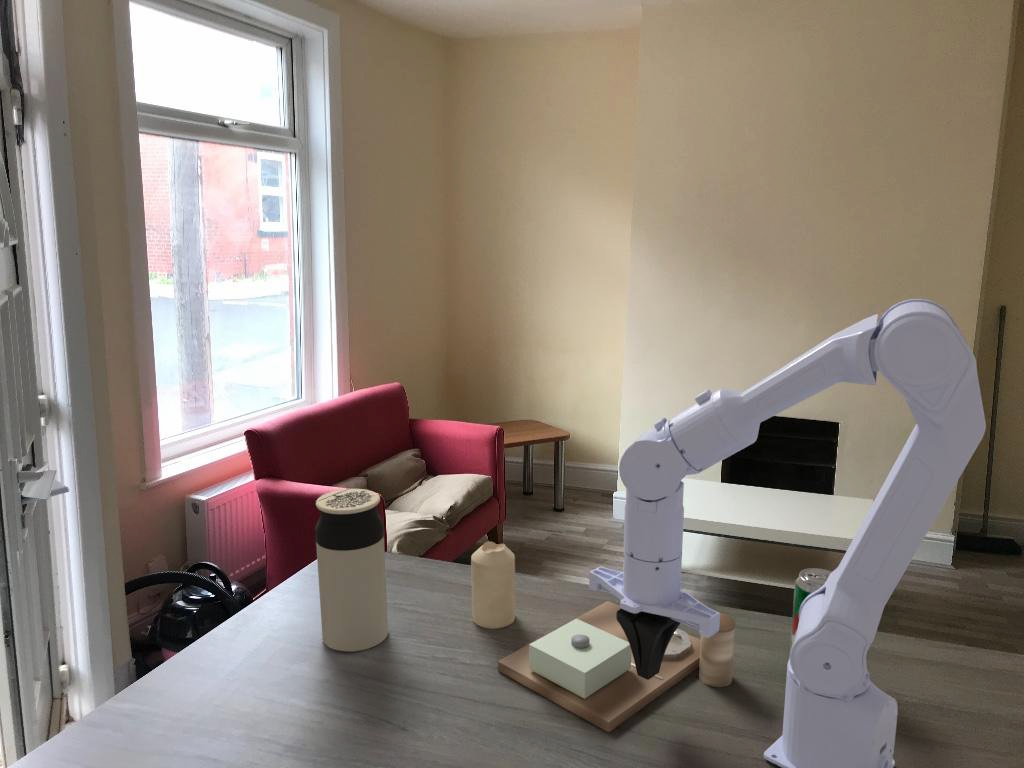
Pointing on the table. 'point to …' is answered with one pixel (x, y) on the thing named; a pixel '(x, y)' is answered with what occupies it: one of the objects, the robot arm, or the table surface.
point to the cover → (580, 657)
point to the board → (617, 695)
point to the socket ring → (678, 645)
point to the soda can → (805, 592)
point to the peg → (718, 654)
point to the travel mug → (351, 570)
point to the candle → (493, 586)
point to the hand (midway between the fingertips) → (648, 673)
